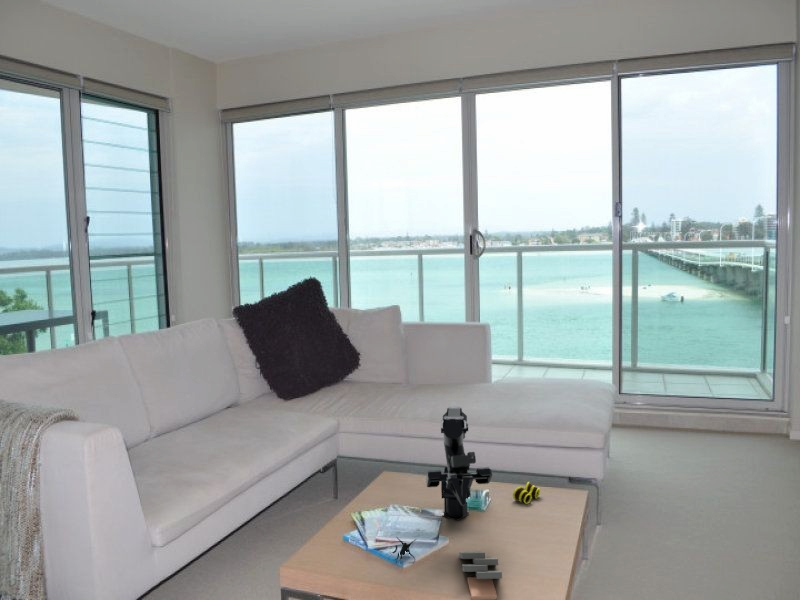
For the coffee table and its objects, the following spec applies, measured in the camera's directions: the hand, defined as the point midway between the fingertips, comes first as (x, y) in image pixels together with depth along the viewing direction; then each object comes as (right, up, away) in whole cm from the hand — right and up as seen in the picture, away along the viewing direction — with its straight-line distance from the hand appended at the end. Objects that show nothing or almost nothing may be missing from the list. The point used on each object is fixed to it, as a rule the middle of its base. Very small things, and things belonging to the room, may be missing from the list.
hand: (463, 505), depth 185 cm
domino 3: (+5, -12, -10) cm, 16 cm away
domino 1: (+1, -11, -6) cm, 13 cm away
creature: (-17, -13, -7) cm, 23 cm away
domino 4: (+5, -12, -17) cm, 21 cm away
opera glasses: (+25, -9, +33) cm, 42 cm away
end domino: (+2, -13, -19) cm, 23 cm away
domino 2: (+1, -12, -13) cm, 18 cm away
